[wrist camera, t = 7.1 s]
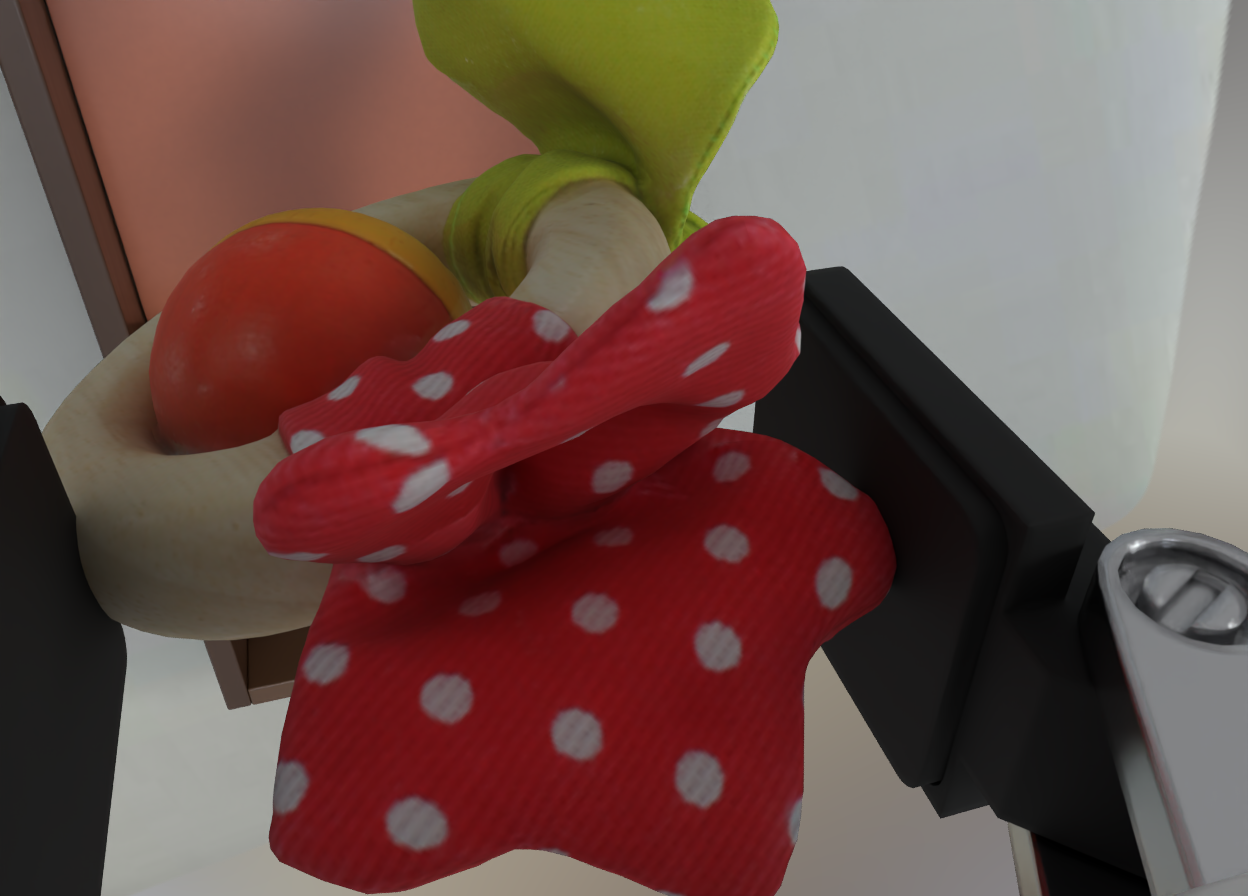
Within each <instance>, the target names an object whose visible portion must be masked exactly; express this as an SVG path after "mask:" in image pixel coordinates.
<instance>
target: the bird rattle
mask: <svg viewBox="0 0 1248 896" xmlns="http://www.w3.org/2000/svg"><path fill="white" fill-rule="evenodd" d="M412 2H413V9H414V16H415V23H416V27H417V30H418V33H419V37H420V40H421V43H422V46H423V50H424V53H425V56H426V57H427V59H428V61H429V62H430V63H431V64H432V65H433V66H434V67H435V68H436V69H437V70H439V71H440V72H442V73H443V74H445V75H447V76H448V77H449V78H450V79H451V80H452V81H453V82H455V83H456V84H458V85H459V86H460V87H461V88H463V89H464V90H465V91H467V92H468V93H469V94H470V95H472V96H473V97H474V98H476V99H477V100H478V101H480V102H481V103H482V104H483V105H485V106H486V107H487V108H489V109H490V110H491V111H493V112H494V113H496V114H498V115H499V116H501V117H503V118H504V119H506V120H507V121H509V122H510V123H512V124H513V125H514V126H515V127H516V128H517V129H518V130H519V131H520V132H521V133H522V134H523V135H524V136H525V137H527V138H528V139H530V140H531V141H532V142H533V143H534V144H535V145H536V146H537V148H538V150H539V152H540V154H541V155H536V154H521V155H518V156H515V157H512V158H508V159H506V160H504V161H502V162H500V163H499V164H497V165H495V166H493V167H492V168H490V169H488V170H486V171H485V172H484V173H483V174H481V175H480V176H479V177H475V178H470V179H464V180H459V181H454V182H450V183H446V184H441V185H437V186H433V187H429V188H425V189H422V190H419V191H416V192H412V193H408V194H403V195H400V196H396V197H393V198H390V199H386V200H383V201H380V202H377V203H373V204H370V205H367V206H365V207H362V208H359V209H356V210H353V211H347V210H342V209H334V208H303V209H296V210H288V211H284V212H279V213H275V214H271V215H267V216H264V217H262V218H259V219H257V220H254V221H252V222H249V223H248V224H246V225H244V226H242V227H240V228H238V229H236V230H235V231H233V232H231V233H230V234H228V235H226V236H225V237H224V238H223V239H221V240H220V241H219V242H218V243H217V244H216V245H214V246H213V247H212V248H211V249H210V250H209V251H208V252H207V253H206V254H205V255H203V256H202V257H201V258H200V259H198V260H197V261H196V262H195V263H194V264H193V265H192V266H191V267H190V268H189V269H188V270H187V272H186V273H185V274H184V276H183V277H182V279H181V280H180V282H179V283H178V284H177V286H176V287H175V289H174V290H173V292H172V293H171V294H170V296H169V298H168V300H167V302H166V304H165V306H164V308H163V311H162V312H160V313H159V314H157V315H156V316H155V317H153V318H152V319H151V320H149V321H148V322H147V323H146V324H144V325H143V326H142V327H140V328H139V329H138V330H137V331H135V332H134V333H133V334H131V335H130V336H129V337H128V338H126V339H125V340H124V341H123V342H122V343H121V344H120V345H119V346H117V347H116V348H115V349H114V350H113V351H112V352H111V353H110V354H109V355H108V356H107V357H105V358H104V359H103V360H102V361H101V362H100V363H99V364H98V365H97V366H96V367H95V368H94V369H93V370H92V371H91V372H90V373H89V374H88V375H87V376H86V377H85V378H84V379H83V380H82V381H81V382H80V383H79V384H78V385H77V386H76V387H75V388H74V390H73V391H72V392H71V393H70V394H69V395H68V396H67V398H66V399H65V400H64V401H63V403H62V404H61V405H60V407H59V408H58V409H57V411H56V412H55V414H54V415H53V416H52V418H51V419H50V421H49V422H48V423H47V425H46V427H45V429H44V430H43V432H42V436H43V438H44V441H45V443H46V445H47V448H48V450H49V452H50V455H51V457H52V460H53V462H54V464H55V467H56V469H57V472H58V474H59V476H60V479H61V481H62V484H63V486H64V488H65V491H66V493H67V496H68V498H69V500H70V503H71V505H72V508H73V510H74V512H75V515H76V532H77V541H78V548H79V554H80V559H81V564H82V567H83V570H84V573H85V576H86V579H87V581H88V584H89V586H90V588H91V590H92V592H93V594H94V596H95V598H96V599H97V601H98V603H99V604H100V606H101V608H102V609H103V610H104V611H105V613H106V614H107V615H108V616H109V617H110V618H111V619H113V620H115V621H117V622H119V623H121V624H123V625H126V626H129V627H132V628H135V629H137V630H140V631H144V632H148V633H152V634H157V635H161V636H165V637H173V638H185V639H196V640H237V639H245V638H254V637H262V636H269V635H273V634H278V633H282V632H287V631H291V630H295V629H299V628H303V627H307V626H310V628H309V631H308V635H307V638H306V642H305V646H304V648H303V651H302V654H301V657H300V660H299V663H298V667H297V672H296V676H295V681H294V685H293V690H292V694H291V698H290V702H289V706H288V710H287V715H286V719H285V723H284V727H283V731H282V736H281V743H280V749H279V756H278V763H277V770H276V777H275V784H274V794H273V816H272V822H271V826H270V831H269V842H270V848H271V850H272V852H273V853H274V855H275V856H276V857H277V858H278V860H279V861H280V862H282V863H284V864H286V865H288V866H291V867H293V868H296V869H298V870H300V871H302V872H304V873H306V874H309V875H311V876H313V877H316V878H318V879H320V880H323V881H325V882H329V883H332V884H336V885H339V886H342V887H346V888H349V889H352V890H355V891H359V892H362V893H365V894H376V893H392V892H401V891H406V890H409V889H413V888H416V887H419V886H422V885H424V884H427V883H430V882H433V881H435V880H438V879H441V878H444V877H447V876H450V875H453V874H455V873H458V872H461V871H464V870H467V869H470V868H473V867H476V866H479V865H481V864H482V863H484V862H486V861H488V860H490V859H492V858H495V857H497V856H500V855H502V854H505V853H507V852H509V851H512V850H514V849H532V850H543V851H548V852H553V853H556V854H560V855H564V856H568V857H571V858H574V859H576V860H579V861H581V862H584V863H587V864H589V865H592V866H594V867H597V868H600V869H602V870H606V871H608V872H611V873H615V874H618V875H620V876H623V877H625V878H627V879H630V880H632V881H634V882H637V883H639V884H641V885H643V886H646V887H648V888H650V889H653V890H655V891H657V892H660V893H662V894H665V895H668V896H774V895H775V894H776V892H777V891H778V889H779V888H780V886H781V884H782V881H783V878H784V875H785V872H786V868H787V865H788V862H789V860H790V857H791V855H792V852H793V849H794V847H795V844H796V842H797V837H798V831H799V825H800V819H801V807H802V797H803V790H804V789H803V788H804V784H803V782H804V681H805V673H806V669H807V666H808V663H809V661H810V659H811V658H812V657H813V655H814V654H815V652H816V651H817V650H818V648H819V647H820V646H821V645H822V644H823V643H824V642H826V641H829V640H830V639H831V638H833V637H834V636H835V635H836V634H837V633H838V632H839V631H840V630H842V629H843V628H845V627H846V626H848V625H849V624H851V623H852V622H854V621H855V620H857V619H858V618H860V617H862V616H863V615H865V614H867V613H868V612H870V611H872V610H873V609H874V608H876V607H877V606H878V605H880V604H881V602H882V601H883V599H884V598H885V597H886V595H887V594H888V592H889V590H890V588H891V585H892V582H893V578H894V575H895V572H896V568H897V563H896V555H895V551H894V547H893V543H892V539H891V536H890V533H889V530H888V527H887V525H886V523H885V521H884V519H883V517H882V515H881V513H880V511H879V509H878V507H877V505H876V504H875V502H874V501H873V500H872V499H871V498H870V497H869V496H868V495H867V494H865V493H864V492H862V491H860V490H859V489H857V488H855V487H854V486H853V485H852V484H850V483H849V482H848V481H846V480H845V479H844V478H842V477H841V476H840V475H838V474H837V473H835V472H834V471H833V470H831V469H830V468H828V467H827V466H826V465H824V464H823V463H821V462H820V461H818V460H817V459H816V458H814V457H812V456H810V455H809V454H807V453H805V452H803V451H802V450H800V449H798V448H796V447H794V446H792V445H790V444H788V443H786V442H784V441H782V440H779V439H776V438H773V437H770V436H766V435H761V434H756V433H751V432H744V431H737V430H730V429H723V428H716V427H717V426H718V425H719V424H720V422H721V421H722V420H723V418H724V417H726V416H728V415H730V414H731V413H733V412H735V411H736V410H738V409H740V408H743V407H745V406H747V405H750V404H752V403H754V402H756V401H758V400H760V399H762V398H763V397H764V396H766V395H767V394H768V393H769V392H770V391H771V390H772V389H773V388H774V387H775V386H776V385H777V384H778V383H779V382H780V381H781V380H782V379H783V377H784V376H785V375H786V374H787V373H788V372H789V370H790V368H791V366H792V365H793V363H794V361H795V360H796V358H797V357H798V356H799V354H800V345H801V330H800V324H799V318H800V314H801V309H802V304H803V301H804V298H803V297H804V287H805V278H806V267H805V264H804V261H803V258H802V255H801V252H800V249H799V246H798V243H797V242H796V241H795V240H794V239H793V238H792V237H791V236H790V235H789V233H788V232H787V231H786V230H785V229H784V228H783V227H782V226H781V225H780V224H779V223H777V222H776V221H774V220H772V219H770V218H764V217H758V216H731V217H726V218H722V219H718V220H714V221H713V222H711V223H709V224H708V223H706V222H705V221H704V220H702V219H701V218H700V217H698V216H697V215H695V214H694V213H692V212H691V211H689V210H690V205H691V200H692V196H693V193H694V191H695V189H696V187H697V185H698V183H699V181H700V180H701V178H702V176H703V175H704V173H705V172H706V170H707V169H708V167H709V165H710V164H711V162H712V160H713V159H714V157H715V155H716V153H717V152H718V150H719V148H720V146H721V145H722V143H723V141H724V139H725V138H726V136H727V134H728V132H729V130H730V128H731V126H732V125H733V123H734V121H735V118H736V115H737V113H738V111H739V108H740V105H741V103H742V102H743V100H744V98H745V96H746V94H747V93H748V91H749V90H750V88H751V87H752V86H753V84H754V83H755V82H756V80H757V79H758V77H759V76H760V75H761V73H762V72H763V70H764V68H765V67H766V65H767V64H768V62H769V60H770V59H771V57H772V55H773V53H774V50H775V47H776V44H777V41H778V32H779V24H778V17H777V15H776V13H775V11H774V9H773V7H772V4H771V2H770V0H412ZM472 306H475V307H474V308H472Z"/></svg>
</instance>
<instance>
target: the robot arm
mask: <svg viewBox="0 0 1248 896" xmlns="http://www.w3.org/2000/svg"><path fill="white" fill-rule="evenodd" d="M803 298H804V301H803V304H802V309H801V314H800V318H799V324H800V330H801V345H800V354H799V356H798V357H797V358H796V360H795V361H794V363H793V365H792V366H791V368H790V370H789V372H788V373H787V374H786V375H785V376H784V377H783V379H782V380H781V381H780V382H779V383H778V384H777V385H776V386H775V387H774V388H773V389H772V390H771V391H770V392H769V393H768V394H767V395H766V396H764V397H763V398H762V399H760V400H758V401H756V403H755V415H754V426H753V433H756V434H761V435H766V436H770V437H773V438H776V439H779V440H782V441H784V442H786V443H788V444H790V445H792V446H794V447H796V448H798V449H800V450H802V451H803V452H805V453H807V454H809V455H810V456H812V457H814V458H816V459H817V460H818V461H820V462H821V463H823V464H824V465H826V466H827V467H828V468H830V469H831V470H833V471H834V472H835V473H837V474H838V475H840V476H841V477H842V478H844V479H845V480H846V481H848V482H849V483H850V484H852V485H853V486H854V487H855V488H857V489H859V490H860V491H862V492H864V493H865V494H867V495H868V496H869V497H870V498H871V499H872V500H873V501H874V502H875V504H876V505H877V507H878V509H879V511H880V513H881V515H882V517H883V519H884V521H885V523H886V525H887V527H888V530H889V533H890V536H891V539H892V543H893V547H894V551H895V555H896V563H897V568H896V572H895V575H894V578H893V582H892V585H891V588H890V590H889V592H888V594H887V595H886V597H885V598H884V599H883V601H882V602H881V604H880V605H878V606H877V607H876V608H874V609H873V610H872V611H870V612H868V613H867V614H865V615H863V616H862V617H860V618H858V619H857V620H855V621H854V622H852V623H851V624H849V625H848V626H846V627H845V628H843V629H842V630H840V631H839V632H838V633H837V634H836V635H835V636H834V637H833V638H831V639H830V640H829V641H826V642H824V643H823V644H822V645H821V647H822V649H823V651H824V652H825V654H826V656H827V658H828V659H829V661H830V663H831V664H832V666H833V667H834V669H835V671H836V672H837V674H838V676H839V678H840V679H841V681H842V683H843V684H844V686H845V688H846V690H847V691H848V693H849V695H850V696H851V698H852V699H853V701H854V703H855V705H856V706H857V708H858V709H859V711H860V713H861V715H862V716H863V718H864V720H865V721H866V723H867V725H868V727H869V728H870V730H871V731H872V733H873V735H874V737H875V738H876V740H877V742H878V743H879V745H880V747H881V748H882V750H883V752H884V753H885V755H886V757H887V759H888V760H889V761H890V763H891V765H892V767H893V769H894V770H895V772H896V774H897V775H898V776H899V778H900V779H901V781H902V782H903V783H904V784H906V785H907V786H908V787H911V788H915V787H919V786H921V787H922V789H923V791H924V792H925V794H926V796H927V797H928V799H929V800H930V802H931V804H932V805H933V807H934V809H935V810H936V812H937V814H938V815H939V817H940V818H944V817H948V816H951V815H955V814H958V813H961V812H965V811H969V810H972V809H976V808H980V807H983V806H987V805H990V807H991V808H992V809H993V811H994V813H995V814H996V816H997V817H998V818H1000V819H1002V820H1004V821H1007V822H1008V830H1009V836H1010V841H1011V847H1012V853H1013V859H1014V865H1015V871H1016V877H1017V882H1018V888H1019V894H1020V896H1248V553H1247V552H1245V551H1243V550H1241V549H1239V548H1237V547H1236V546H1234V545H1232V544H1229V543H1226V542H1224V541H1221V540H1218V539H1215V538H1213V537H1210V536H1207V535H1204V534H1201V533H1195V532H1190V531H1184V530H1178V529H1173V528H1160V529H1159V528H1158V529H1141V530H1137V531H1133V532H1130V533H1126V534H1122V535H1120V536H1119V537H1117V538H1116V539H1115V540H1113V541H1112V542H1111V541H1110V540H1109V539H1108V538H1107V537H1106V536H1105V535H1104V534H1103V533H1102V532H1101V531H1100V530H1099V529H1098V528H1097V527H1096V526H1095V525H1094V524H1093V523H1092V520H1093V517H1094V515H1095V512H1094V511H1093V510H1092V509H1091V508H1090V507H1089V506H1088V505H1087V504H1086V503H1085V502H1084V501H1083V500H1082V499H1081V498H1080V497H1079V496H1078V495H1077V494H1075V493H1074V492H1073V491H1072V490H1071V489H1070V488H1069V487H1068V486H1067V485H1066V484H1065V483H1064V482H1063V481H1062V480H1061V479H1060V478H1059V477H1058V476H1057V475H1056V474H1055V473H1054V472H1053V471H1052V470H1051V469H1050V468H1049V467H1048V466H1047V465H1046V464H1045V463H1044V462H1043V461H1042V460H1041V459H1040V458H1039V457H1038V456H1037V455H1036V454H1035V453H1034V452H1033V451H1032V450H1031V449H1030V448H1029V447H1028V446H1027V445H1026V444H1025V443H1024V442H1023V441H1022V440H1021V439H1020V438H1019V437H1018V436H1017V435H1016V434H1015V433H1014V432H1013V431H1012V430H1011V429H1010V428H1009V427H1008V426H1007V425H1006V424H1005V423H1004V422H1003V421H1001V420H1000V419H999V418H998V417H997V416H996V415H995V414H994V413H993V412H992V411H991V410H990V409H989V408H988V407H987V406H986V405H985V404H984V403H983V402H982V401H981V400H980V399H979V398H978V397H977V396H976V395H975V394H974V393H973V392H972V391H971V390H970V389H969V388H968V387H967V386H966V385H965V384H964V383H963V382H962V381H961V380H960V379H959V378H958V377H957V376H956V375H955V374H954V373H953V372H952V371H951V370H950V369H949V368H948V367H947V366H946V365H945V364H944V363H943V362H942V361H941V360H940V359H939V358H938V357H937V356H936V355H935V354H934V353H933V352H932V351H931V350H930V349H929V348H927V347H926V346H925V345H924V344H923V343H922V342H921V341H920V340H919V339H918V338H917V337H916V336H915V335H914V334H913V333H912V332H911V331H910V330H909V329H908V328H907V327H906V326H905V325H904V324H903V323H902V322H901V321H900V320H899V319H898V318H897V317H896V316H895V315H894V314H893V313H892V312H891V311H890V310H889V309H888V308H887V307H886V306H885V305H884V304H883V303H882V302H881V301H880V300H879V299H878V298H877V297H876V296H875V295H874V294H873V293H872V292H871V291H870V290H869V289H868V288H867V287H866V286H865V285H864V284H863V283H862V282H861V281H860V280H859V279H858V278H857V277H856V276H855V275H853V274H852V273H851V272H850V271H849V270H848V269H846V268H845V267H843V266H841V267H831V268H825V269H818V270H811V271H806V278H805V287H804V297H803ZM126 667H127V650H126V642H125V637H124V632H123V628H122V625H121V623H119V622H117V621H115V620H113V619H111V618H110V617H109V616H108V615H107V614H106V613H105V611H104V610H103V609H102V608H101V606H100V604H99V603H98V601H97V599H96V598H95V596H94V594H93V592H92V590H91V588H90V586H89V584H88V581H87V579H86V576H85V573H84V570H83V567H82V564H81V559H80V554H79V548H78V541H77V532H76V515H75V512H74V510H73V508H72V505H71V503H70V500H69V498H68V496H67V493H66V491H65V488H64V486H63V484H62V481H61V479H60V476H59V474H58V472H57V469H56V467H55V464H54V462H53V460H52V457H51V455H50V452H49V450H48V448H47V445H46V443H45V441H44V438H43V436H42V433H41V431H40V429H39V426H38V424H37V421H36V419H35V417H34V415H33V413H32V411H31V410H30V408H29V407H28V406H27V405H26V404H24V403H16V404H10V405H6V403H5V401H4V400H3V399H2V397H1V396H0V896H101V887H102V878H103V869H104V860H105V852H106V843H107V834H108V825H109V816H110V808H111V799H112V790H113V781H114V772H115V763H116V755H117V746H118V737H119V728H120V719H121V711H122V702H123V693H124V684H125V675H126Z"/></svg>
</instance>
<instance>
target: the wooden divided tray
mask: <svg viewBox="0 0 1248 896" xmlns="http://www.w3.org/2000/svg"><path fill="white" fill-rule="evenodd" d="M0 67H1V70H2V73H3V76H4V78H5V81H6V84H7V87H8V90H9V93H10V95H11V98H12V101H13V104H14V107H15V109H16V112H17V115H18V118H19V121H20V124H21V126H22V129H23V132H24V135H25V138H26V141H27V143H28V146H29V149H30V152H31V155H32V157H33V160H34V163H35V166H36V169H37V172H38V174H39V177H40V180H41V183H42V186H43V189H44V191H45V194H46V197H47V200H48V203H49V206H50V208H51V211H52V214H53V217H54V220H55V222H56V225H57V228H58V231H59V234H60V237H61V239H62V242H63V245H64V248H65V251H66V254H67V256H68V259H69V262H70V265H71V268H72V270H73V273H74V276H75V279H76V282H77V285H78V287H79V290H80V293H81V296H82V299H83V302H84V304H85V307H86V310H87V313H88V316H89V318H90V321H91V324H92V327H93V330H94V333H95V335H96V338H97V341H98V344H99V347H100V350H101V352H102V355H103V358H105V357H107V356H108V355H109V354H110V353H111V352H112V351H113V350H114V349H115V348H116V347H117V346H119V345H120V344H121V343H122V342H123V341H124V340H125V339H126V338H128V337H129V336H130V335H131V334H133V333H134V332H135V331H137V330H138V329H139V328H140V327H142V326H143V325H144V324H146V323H147V322H148V321H149V320H151V319H152V318H153V317H155V316H156V315H157V314H159V313H160V312H162V311H163V308H164V306H165V304H166V302H167V300H168V298H169V296H170V294H171V293H172V292H173V290H174V289H175V287H176V286H177V284H178V283H179V282H180V280H181V279H182V277H183V276H184V274H185V273H186V272H187V270H188V269H189V268H190V267H191V266H192V265H193V264H194V263H195V262H196V261H197V260H198V259H200V258H201V257H202V256H203V255H205V254H206V253H207V252H208V251H209V250H210V249H211V248H212V247H213V246H214V245H216V244H217V243H218V242H219V241H220V240H221V239H223V238H224V237H225V236H226V235H228V234H230V233H231V232H233V231H235V230H236V229H238V228H240V227H242V226H244V225H246V224H248V223H249V222H252V221H254V220H257V219H259V218H262V217H264V216H267V215H271V214H275V213H279V212H284V211H288V210H296V209H303V208H334V209H342V210H347V211H353V210H356V209H359V208H362V207H365V206H367V205H370V204H373V203H377V202H380V201H383V200H386V199H390V198H393V197H396V196H400V195H403V194H408V193H412V192H416V191H419V190H422V189H425V188H429V187H433V186H437V185H441V184H446V183H450V182H454V181H459V180H464V179H470V178H475V177H479V176H480V175H481V174H483V173H484V172H485V171H486V170H488V169H490V168H492V167H493V166H495V165H497V164H499V163H500V162H502V161H504V160H506V159H508V158H512V157H515V156H518V155H521V154H536V155H541V154H540V152H539V150H538V148H537V146H536V145H535V144H534V143H533V142H532V141H531V140H530V139H528V138H527V137H525V136H524V135H523V134H522V133H521V132H520V131H519V130H518V129H517V128H516V127H515V126H514V125H513V124H512V123H510V122H509V121H507V120H506V119H504V118H503V117H501V116H499V115H498V114H496V113H494V112H493V111H491V110H490V109H489V108H487V107H486V106H485V105H483V104H482V103H481V102H480V101H478V100H477V99H476V98H474V97H473V96H472V95H470V94H469V93H468V92H467V91H465V90H464V89H463V88H461V87H460V86H459V85H458V84H456V83H455V82H453V81H452V80H451V79H450V78H449V77H448V76H447V75H445V74H443V73H442V72H440V71H439V70H437V69H436V68H435V67H434V66H433V65H432V64H431V63H430V62H429V61H428V59H427V57H426V56H425V53H424V50H423V46H422V43H421V40H420V37H419V33H418V30H417V27H416V23H415V16H414V9H413V2H412V0H0ZM474 307H475V306H472V308H474ZM309 628H310V626H307V627H303V628H299V629H295V630H291V631H287V632H282V633H278V634H273V635H269V636H262V637H254V638H245V639H237V640H204V643H205V646H206V649H207V652H208V655H209V657H210V660H211V663H212V666H213V669H214V671H215V674H216V677H217V680H218V683H219V686H220V688H221V691H222V694H223V697H224V700H225V703H226V705H227V708H228V709H229V710H231V709H236V708H240V707H245V706H249V705H251V703H252V704H254V705H255V704H260V703H264V702H269V701H273V700H278V699H282V698H287V697H291V694H292V690H293V685H294V681H295V676H296V672H297V667H298V663H299V660H300V657H301V654H302V651H303V648H304V646H305V642H306V638H307V635H308V631H309Z"/></svg>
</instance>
